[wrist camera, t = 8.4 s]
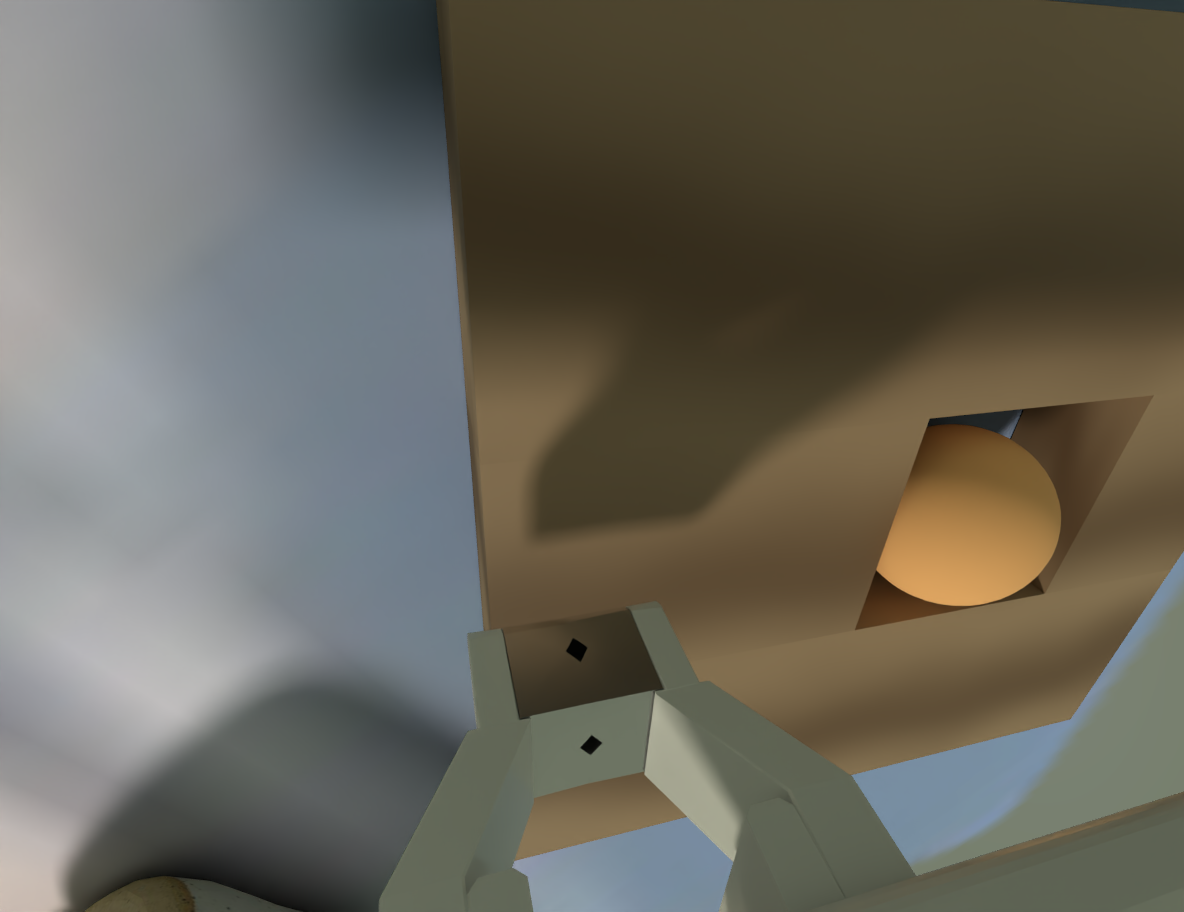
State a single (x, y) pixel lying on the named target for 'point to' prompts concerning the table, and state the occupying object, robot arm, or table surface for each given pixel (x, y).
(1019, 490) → the rubber ball
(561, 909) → the table surface
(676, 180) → the board
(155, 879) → the ceramic mug
